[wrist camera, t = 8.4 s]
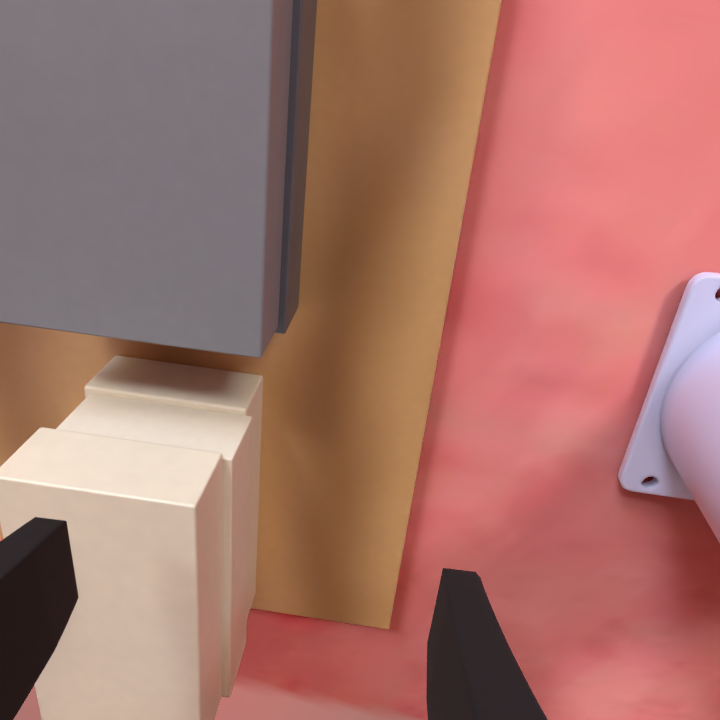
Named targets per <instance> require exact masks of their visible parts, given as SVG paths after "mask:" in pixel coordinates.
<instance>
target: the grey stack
mask: <svg viewBox="0 0 720 720" xmlns="http://www.w3.org/2000/svg"><path fill="white" fill-rule="evenodd" d="M316 11H317V0H0V323H7V324H15V325H22V326H29V327H36V328H44V329H51V330H58V331H65V332H73V333H80V334H87V335H95V336H102V337H109V338H116V339H124V340H131V341H138V342H145V343H153V344H160V345H167V346H174V347H182V348H189V349H196V350H203V351H211V352H218V353H225V354H233V355H240V356H247V357H254V358H261V357H262V355H263V353H264V351H265V350H266V348H267V346H268V344H269V342H270V340H271V338H272V337H273V335H274V333H280V334H285V333H286V331H287V329H288V327H289V325H290V323H291V321H292V319H293V317H294V315H295V313H296V311H297V309H298V303H299V287H300V270H301V254H302V238H303V222H304V206H305V189H306V173H307V157H308V141H309V124H310V108H311V92H312V76H313V60H314V43H315V27H316Z"/></svg>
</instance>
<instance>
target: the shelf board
mask: <svg viewBox="0 0 720 720" xmlns="http://www.w3.org/2000/svg"><path fill="white" fill-rule="evenodd" d="M501 5H502V0H317V11H316V27H315V43H314V60H313V76H312V92H311V108H310V124H309V141H308V157H307V173H306V189H305V206H304V222H303V238H302V254H301V270H300V287H299V303H298V309H297V311H296V313H295V315H294V317H293V319H292V321H291V323H290V325H289V327H288V329H287V331H286V333H285V334H280V333H274V335H273V337H272V338H271V340H270V342H269V344H268V346H267V348H266V350H265V351H264V353H263V355H262V357H261V358H254V357H247V356H240V355H233V354H225V353H218V352H211V351H203V350H196V349H189V348H182V347H174V346H167V345H160V344H153V343H145V342H138V341H131V340H124V339H116V338H109V337H102V336H95V335H87V334H80V333H73V332H65V331H58V330H51V329H44V328H36V327H29V326H22V325H15V324H7V323H0V467H1V466H2V465H3V464H4V463H5V462H6V461H7V460H8V459H9V458H10V457H11V456H12V455H13V454H14V453H15V452H16V451H17V450H18V449H19V448H20V447H21V446H22V445H23V444H24V443H25V442H26V441H27V440H28V439H29V438H30V437H31V436H32V435H33V434H34V433H35V432H36V431H37V430H38V429H39V428H41V427H44V428H51V429H56V428H57V427H58V426H59V425H60V424H61V423H62V422H63V421H64V420H65V419H66V418H67V417H68V416H69V415H70V414H71V413H72V412H73V411H74V410H75V409H76V408H77V407H78V406H79V405H80V404H81V403H82V402H83V400H84V399H85V391H84V387H85V385H86V384H87V383H88V382H89V381H90V380H91V379H92V378H93V377H94V376H95V375H96V374H97V373H98V372H99V371H100V370H101V369H102V368H103V367H104V366H105V365H106V364H107V363H108V362H109V361H110V360H112V359H113V358H114V357H115V356H117V355H118V356H125V357H133V358H140V359H147V360H154V361H161V362H169V363H176V364H183V365H190V366H197V367H205V368H212V369H219V370H226V371H233V372H241V373H248V374H255V375H261V376H263V400H262V428H261V455H260V483H259V511H258V539H257V566H256V593H255V596H254V599H253V602H252V605H251V609H258V610H264V611H271V612H277V613H284V614H290V615H297V616H303V617H310V618H316V619H323V620H329V621H336V622H342V623H349V624H355V625H362V626H368V627H374V628H381V629H389V628H390V622H391V617H392V611H393V605H394V600H395V594H396V589H397V583H398V578H399V572H400V566H401V561H402V555H403V550H404V544H405V539H406V533H407V527H408V522H409V516H410V511H411V505H412V500H413V494H414V489H415V483H416V477H417V472H418V466H419V461H420V455H421V450H422V444H423V438H424V433H425V427H426V422H427V416H428V411H429V405H430V400H431V394H432V388H433V383H434V377H435V372H436V366H437V361H438V355H439V349H440V344H441V338H442V333H443V327H444V322H445V316H446V311H447V305H448V299H449V294H450V288H451V283H452V277H453V272H454V266H455V260H456V255H457V249H458V244H459V238H460V233H461V227H462V222H463V216H464V210H465V205H466V199H467V194H468V188H469V183H470V177H471V171H472V166H473V160H474V155H475V149H476V144H477V138H478V133H479V127H480V121H481V116H482V110H483V105H484V99H485V94H486V88H487V82H488V77H489V71H490V66H491V60H492V55H493V49H494V43H495V38H496V32H497V27H498V21H499V16H500V10H501ZM0 539H1V541H2V540H3V539H4V538H3V533H2V529H1V524H0Z"/></svg>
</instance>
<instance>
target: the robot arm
mask: <svg viewBox="0 0 720 720" xmlns="http://www.w3.org/2000/svg"><path fill="white" fill-rule="evenodd" d="M719 288H720V273H713V272H702V273H699V274H697V275H695V276H694V277H692V278H691V279H690V280H689V282H688V283H687V285H686V287H685V290H684V293H683V296H682V298H681V301H680V304H679V307H678V309H677V312H676V315H675V318H674V320H673V323H672V326H671V329H670V331H669V334H668V337H667V340H666V343H665V345H664V348H663V351H662V354H661V356H660V359H659V362H658V365H657V367H656V370H655V373H654V376H653V378H652V381H651V384H650V387H649V389H648V392H647V395H646V398H645V400H644V403H643V406H642V409H641V411H640V414H639V417H638V420H637V422H636V425H635V428H634V431H633V433H632V436H631V439H630V442H629V444H628V447H627V450H626V453H625V455H624V458H623V461H622V464H621V466H620V469H619V472H618V479H619V481H620V483H621V486H622V487H623V488H624V489H625V490H628V491H632V492H639V493H646V494H653V495H660V496H667V497H674V498H681V499H688V500H695V502H696V504H697V505H698V507H699V509H700V511H701V512H702V514H703V516H704V517H705V519H706V521H707V523H708V524H709V526H710V528H711V529H712V531H713V533H714V535H715V536H716V538H717V540H718V541H719V543H720V297H719V298H715V294H716V292H717V290H718V289H719ZM647 477H654V478H653V479H652V480H651V481H649V482H643V480H644V479H645V478H647ZM78 598H79V597H78V590H77V584H76V578H75V572H74V565H73V559H72V553H71V546H70V540H69V534H68V528H67V521H64V520H56V519H48V518H40V517H34V518H33V519H32V520H30V521H29V522H27V523H26V524H24V525H23V526H21V527H20V528H18V529H17V530H16V531H14V532H13V533H11V534H10V535H9V536H7V537H6V538H4V539H3V540H2V541H0V720H13V719H14V717H15V716H16V714H17V712H18V711H19V709H20V708H21V706H22V704H23V703H24V701H25V699H26V698H27V696H28V694H29V693H30V691H31V689H32V688H33V686H34V684H35V683H36V681H37V679H38V678H39V676H40V674H41V673H42V671H43V669H44V668H45V666H46V664H47V663H48V661H49V659H50V658H51V656H52V654H53V652H54V651H55V649H56V647H57V645H58V642H59V640H60V638H61V636H62V634H63V632H64V630H65V628H66V625H67V623H68V621H69V619H70V616H71V614H72V612H73V609H74V607H75V605H76V603H77V600H78ZM427 711H428V720H547V718H546V716H545V714H544V713H543V711H542V709H541V707H540V706H539V704H538V702H537V700H536V698H535V696H534V694H533V693H532V691H531V689H530V687H529V685H528V683H527V681H526V679H525V677H524V675H523V673H522V671H521V669H520V667H519V665H518V663H517V661H516V660H515V658H514V656H513V654H512V652H511V649H510V647H509V645H508V643H507V641H506V639H505V637H504V634H503V632H502V630H501V628H500V626H499V623H498V621H497V619H496V617H495V614H494V612H493V609H492V607H491V605H490V602H489V600H488V597H487V595H486V592H485V589H484V587H483V584H482V581H481V578H480V577H479V576H478V574H477V573H476V572H470V571H462V570H454V569H446V568H443V571H442V576H441V581H440V585H439V590H438V595H437V600H436V605H435V609H434V614H433V619H432V624H431V629H430V633H429V638H428V646H427Z"/></svg>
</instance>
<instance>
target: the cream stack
mask: <svg viewBox="0 0 720 720" xmlns="http://www.w3.org/2000/svg"><path fill="white" fill-rule="evenodd" d="M84 391H85V399H84V400H83V402H82V403H81V404H80V405H79V406H78V407H77V408H76V409H75V410H74V411H73V412H72V413H71V414H70V415H69V416H68V417H67V418H66V419H65V420H64V421H63V422H62V423H61V424H60V425H59V426H58V427H57V428H56V429H58V430H65V431H72V432H79V433H86V434H93V435H100V436H107V437H114V438H121V439H128V440H134V441H141V442H148V443H155V444H162V445H169V446H176V447H183V448H190V449H197V450H204V451H211V452H218V453H222V697H230V695H231V692H232V689H233V685H234V682H235V679H236V676H237V672H238V669H239V666H240V663H241V659H242V656H243V653H244V649H245V646H246V635H247V618H248V615H249V612H250V609H251V605H252V602H253V599H254V596H255V593H256V566H257V539H258V511H259V483H260V455H261V428H262V400H263V376H261V375H255V374H248V373H241V372H233V371H226V370H219V369H212V368H205V367H197V366H190V365H183V364H176V363H169V362H161V361H154V360H147V359H140V358H133V357H125V356H118V355H117V356H115V357H114V358H113V359H112V360H110V361H109V362H108V363H107V364H106V365H105V366H104V367H103V368H102V369H101V370H100V371H99V372H98V373H97V374H96V375H95V376H94V377H93V378H92V379H91V380H90V381H89V382H88V383H87V384H86V385H85V387H84Z"/></svg>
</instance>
